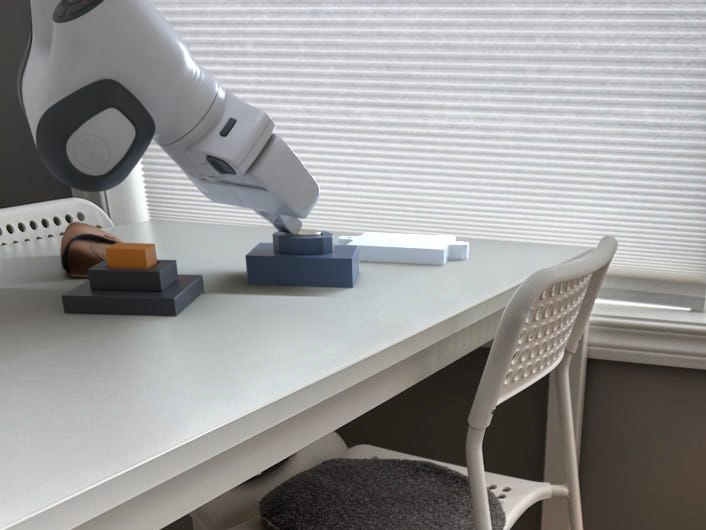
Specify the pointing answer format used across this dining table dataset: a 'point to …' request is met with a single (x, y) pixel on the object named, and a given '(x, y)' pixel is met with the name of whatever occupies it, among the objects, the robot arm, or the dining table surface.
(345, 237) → the mounting plate
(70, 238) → the sunglasses case
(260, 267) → the key block
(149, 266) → the orange square flat block
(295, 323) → the dining table surface
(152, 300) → the key block
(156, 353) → the dining table surface
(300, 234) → the silver short cylinder
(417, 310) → the dining table surface
